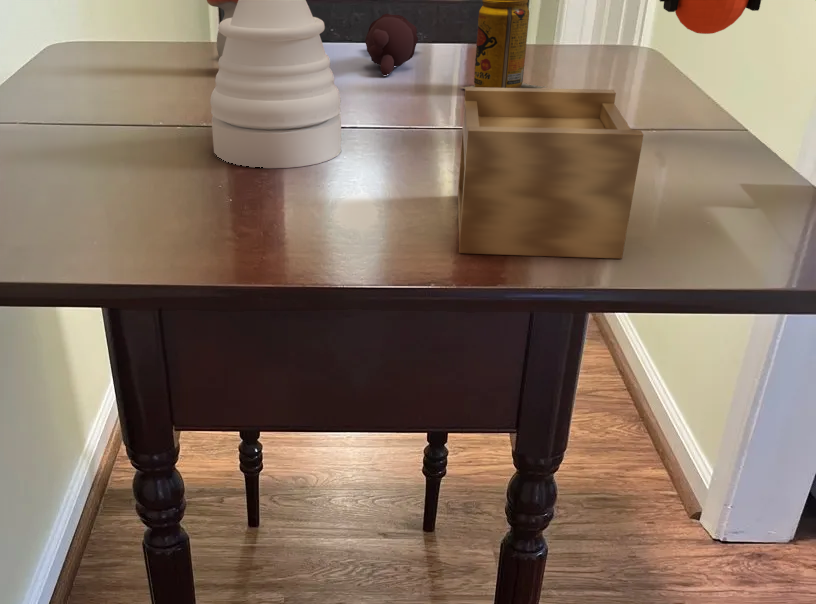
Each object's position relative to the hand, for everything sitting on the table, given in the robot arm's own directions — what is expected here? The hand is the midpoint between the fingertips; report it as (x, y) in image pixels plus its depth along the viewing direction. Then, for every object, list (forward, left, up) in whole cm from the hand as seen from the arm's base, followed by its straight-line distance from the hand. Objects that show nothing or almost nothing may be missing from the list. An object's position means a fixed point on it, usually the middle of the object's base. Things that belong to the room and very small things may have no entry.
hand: (710, 8), depth 89 cm
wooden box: (+18, +27, -12) cm, 35 cm away
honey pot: (+42, +7, -13) cm, 44 cm away
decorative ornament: (+52, -30, -13) cm, 61 cm away
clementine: (0, 0, -3) cm, 3 cm away
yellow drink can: (+18, -23, -13) cm, 31 cm away
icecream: (+33, -36, -13) cm, 50 cm away
